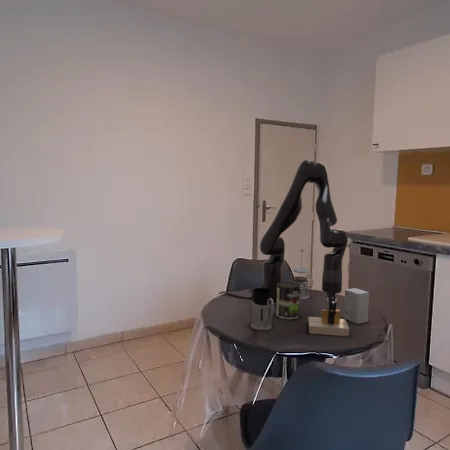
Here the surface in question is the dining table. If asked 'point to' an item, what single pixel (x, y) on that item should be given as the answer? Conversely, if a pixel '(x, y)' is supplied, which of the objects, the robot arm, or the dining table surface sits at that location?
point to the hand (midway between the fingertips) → (330, 321)
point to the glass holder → (262, 309)
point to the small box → (356, 305)
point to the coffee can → (288, 300)
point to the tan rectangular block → (325, 316)
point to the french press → (302, 280)
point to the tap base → (327, 327)
